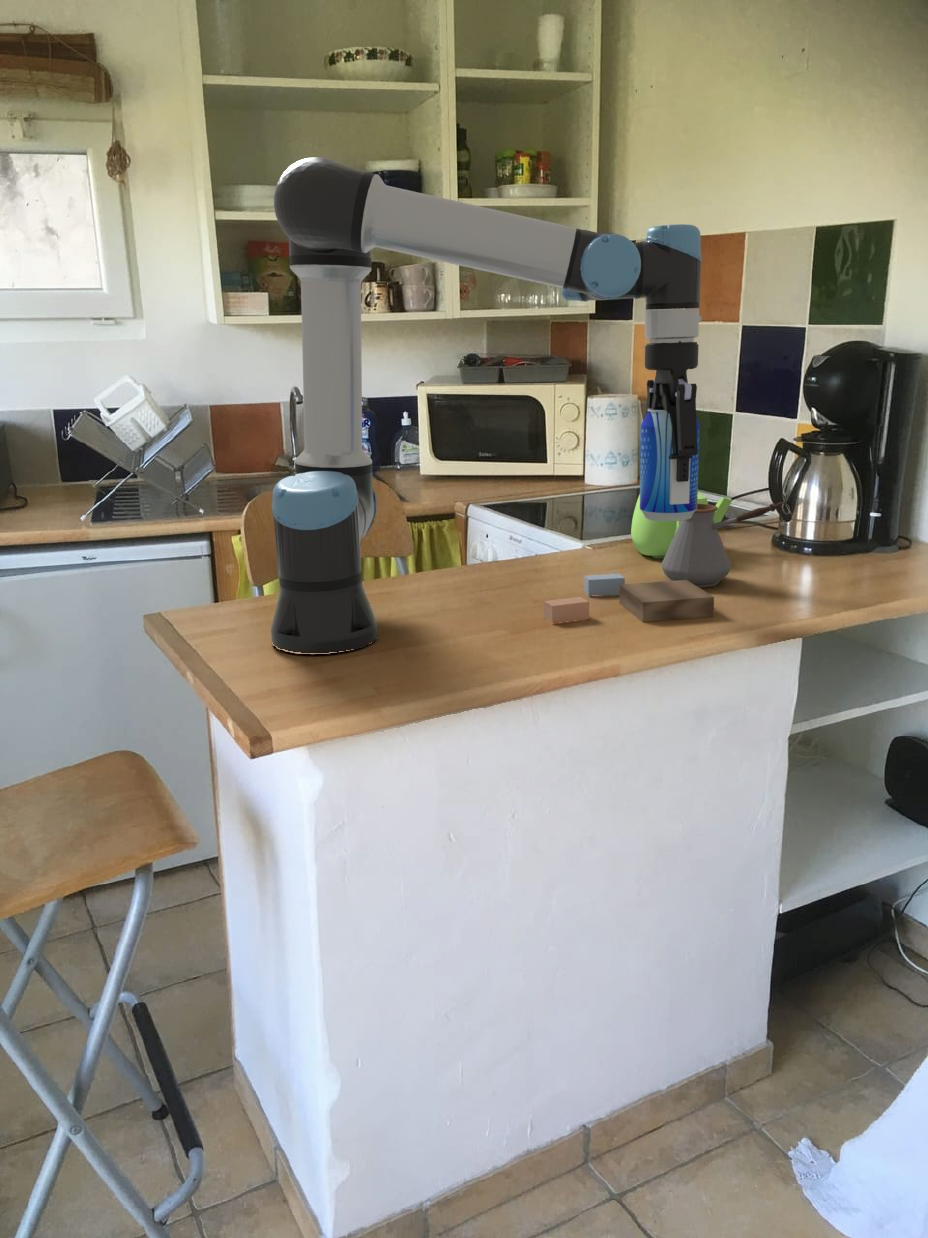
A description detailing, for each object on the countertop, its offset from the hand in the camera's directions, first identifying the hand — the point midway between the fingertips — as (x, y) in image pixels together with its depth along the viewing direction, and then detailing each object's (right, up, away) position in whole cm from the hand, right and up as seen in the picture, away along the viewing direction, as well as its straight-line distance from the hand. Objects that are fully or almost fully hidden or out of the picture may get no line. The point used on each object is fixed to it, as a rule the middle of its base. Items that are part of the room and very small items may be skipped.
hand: (668, 498), depth 152 cm
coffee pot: (+12, -13, +17) cm, 25 cm away
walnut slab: (0, -16, +5) cm, 17 cm away
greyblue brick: (-7, -14, +15) cm, 22 cm away
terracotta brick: (-15, -18, +1) cm, 24 cm away
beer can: (0, -3, +1) cm, 3 cm away
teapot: (+11, -5, +42) cm, 44 cm away
